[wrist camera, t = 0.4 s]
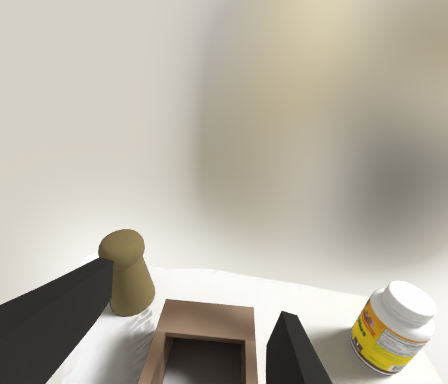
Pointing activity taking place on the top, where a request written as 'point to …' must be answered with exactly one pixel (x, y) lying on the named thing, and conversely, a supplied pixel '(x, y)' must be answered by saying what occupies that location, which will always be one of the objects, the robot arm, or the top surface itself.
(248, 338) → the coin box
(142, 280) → the cork
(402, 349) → the supplement bottle
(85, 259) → the top surface
